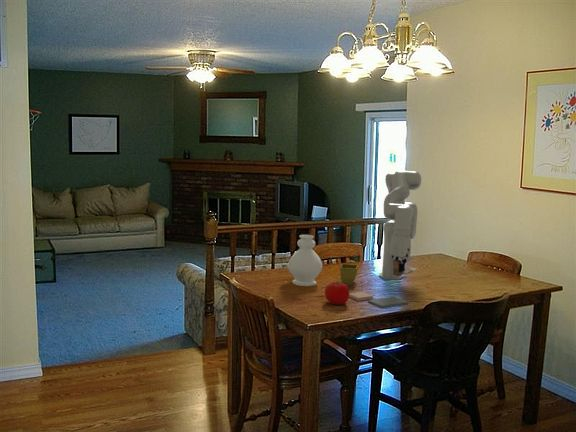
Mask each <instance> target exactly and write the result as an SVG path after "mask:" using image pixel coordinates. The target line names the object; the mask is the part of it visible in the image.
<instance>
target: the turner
mask: <svg viewBox="0 0 576 432" xmlns="http://www.w3.org/2000/svg"><path fill="white" fill-rule="evenodd" d="M399 264H400V260H398V259H397V260H393V275H396V276H400V275H402V276H403V275H405V276H406V275H409V274H411V273H414V272H418V268H416V267H411V266H408V267H406V268H405V271H404V272H399Z"/></svg>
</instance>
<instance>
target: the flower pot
mask: <svg viewBox="0 0 576 432" xmlns="http://www.w3.org/2000/svg"><path fill="white" fill-rule="evenodd" d="M358 267H359V265H358V264H349V263H341V265H340V267H339V273H340V280H341V283H343V282H344V284H349V285H350V284H351V285H352V284H353V283H354V282H355V280H356V278H357V275H358V270H359V269H358Z"/></svg>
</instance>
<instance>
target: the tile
mask: <svg viewBox="0 0 576 432" xmlns="http://www.w3.org/2000/svg"><path fill="white" fill-rule="evenodd" d="M349 298H350V299H352V300H355V301H357V302H358V301H359V302H361V301H367V300H373V299H374V295H371V294H370V293H368V292H366V291H356V292H349Z"/></svg>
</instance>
